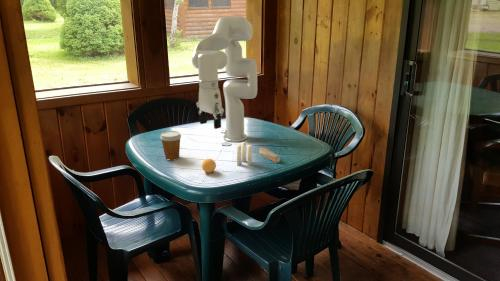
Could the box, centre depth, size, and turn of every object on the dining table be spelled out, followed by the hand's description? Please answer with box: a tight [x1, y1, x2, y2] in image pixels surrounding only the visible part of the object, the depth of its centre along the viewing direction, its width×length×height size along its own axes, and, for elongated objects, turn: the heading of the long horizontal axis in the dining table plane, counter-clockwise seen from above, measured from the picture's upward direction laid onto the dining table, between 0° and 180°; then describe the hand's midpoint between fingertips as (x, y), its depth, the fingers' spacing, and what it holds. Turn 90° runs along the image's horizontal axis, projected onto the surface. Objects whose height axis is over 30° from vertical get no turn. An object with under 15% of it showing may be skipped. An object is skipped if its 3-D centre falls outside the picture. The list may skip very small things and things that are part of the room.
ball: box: [201, 158, 217, 174], centre depth 174 cm, size 6×6×6 cm
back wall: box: [258, 146, 280, 164], centre depth 189 cm, size 2×14×3 cm, turn 31°
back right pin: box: [246, 144, 253, 167], centre depth 181 cm, size 2×2×9 cm
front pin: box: [236, 144, 243, 167], centre depth 181 cm, size 2×2×9 cm
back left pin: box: [241, 141, 247, 163], centre depth 185 cm, size 2×2×9 cm
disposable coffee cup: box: [159, 130, 182, 161], centre depth 189 cm, size 10×10×12 cm
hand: (210, 125), depth 167 cm, fingers open, 9 cm apart
